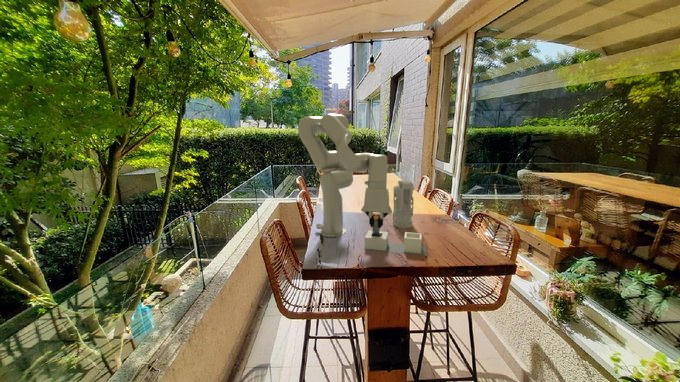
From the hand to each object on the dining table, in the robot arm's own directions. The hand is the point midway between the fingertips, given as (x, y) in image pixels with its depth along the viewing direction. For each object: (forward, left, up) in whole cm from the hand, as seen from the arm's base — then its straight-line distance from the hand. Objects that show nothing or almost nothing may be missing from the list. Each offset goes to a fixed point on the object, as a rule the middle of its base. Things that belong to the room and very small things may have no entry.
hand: (376, 226), depth 114 cm
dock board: (+8, 0, -10) cm, 13 cm away
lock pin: (0, 0, -6) cm, 6 cm away
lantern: (+10, +31, -10) cm, 34 cm away
